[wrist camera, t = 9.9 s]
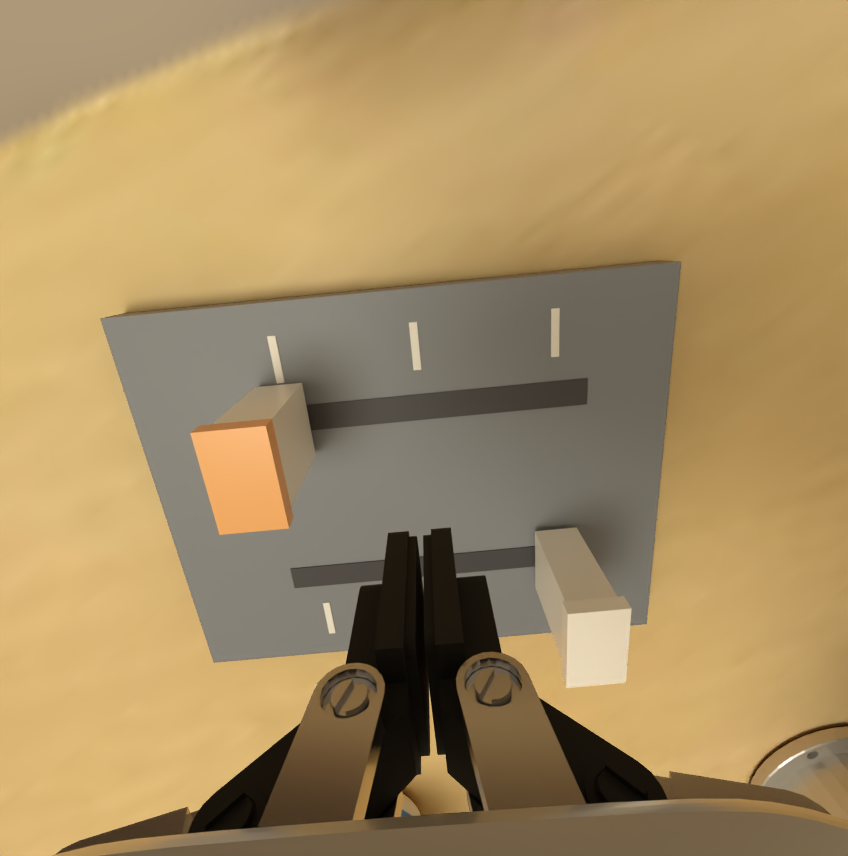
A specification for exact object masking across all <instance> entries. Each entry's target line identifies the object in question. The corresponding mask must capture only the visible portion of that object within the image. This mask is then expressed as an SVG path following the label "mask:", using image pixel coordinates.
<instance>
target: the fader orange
mask: <svg viewBox="0 0 848 856" xmlns="http://www.w3.org/2000/svg"><path fill="white" fill-rule="evenodd" d="M190 434H191V437H192V441H193V444H194V448H195V451H196V455H197V458H198V462H199V465H200V469H201V472H202V476H203V479H204V483H205V486H206V490H207V493H208V497H209V500H210V503H211V507H212V510H213V514H214V517H215V521H216V524H217V528H218V531H219V535H224V534H235V533H246V532H257V531H268V530H278V529H289V527H290V525H291V523H292V521H293V518H294V517H293V512H292V508H291V507H292V505H293V502H294V500H295V498H296V496H297V494H298V492H299V490H300V488H301V485H302V483H303V481H304V479H305V477H306V475H307V473H308V471H309V468H310V466H311V464H312V462H313V460H314V458H315V456H316V454H315V449H314V443H313V438H312V433H311V428H310V422H309V417H308V412H307V407H306V401H305V396H304V391H303V386H302V383H294V384H283V385H273V386H262V387H254V388H253V389H252V390H251V391H250V392H249V393H247V394H246V395H245V396H244V397H243V398H242V399H241V400H239V401H238V402H237V403H236V404H235V405H234V406H233V407H231V408H230V409H229V410H228V411H227V412H226V413H225V414H223V415H222V416H221V417H220V418H219V419H218V420H217V421H215V422H214V423H213V424H209V425H199V426H198V427H197V428H196V429H194V430H193V431H192V432H191V433H190Z"/></svg>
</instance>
